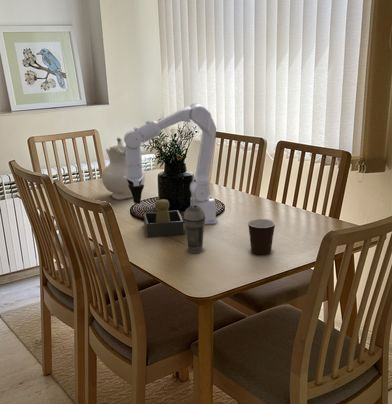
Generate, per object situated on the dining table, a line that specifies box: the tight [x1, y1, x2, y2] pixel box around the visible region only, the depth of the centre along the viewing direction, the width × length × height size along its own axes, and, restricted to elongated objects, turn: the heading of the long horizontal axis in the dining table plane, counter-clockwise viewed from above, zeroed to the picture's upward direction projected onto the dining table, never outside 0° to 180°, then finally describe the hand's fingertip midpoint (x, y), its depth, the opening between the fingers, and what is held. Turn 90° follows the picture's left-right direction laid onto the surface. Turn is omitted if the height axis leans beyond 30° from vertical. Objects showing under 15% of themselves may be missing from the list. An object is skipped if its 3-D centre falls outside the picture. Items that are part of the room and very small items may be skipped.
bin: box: [143, 209, 185, 238], centre depth 202 cm, size 13×13×5 cm
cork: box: [154, 198, 170, 223], centre depth 201 cm, size 6×6×11 cm
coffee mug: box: [248, 218, 276, 257], centre depth 180 cm, size 12×9×10 cm
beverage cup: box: [182, 191, 205, 254], centre depth 180 cm, size 7×7×20 cm
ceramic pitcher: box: [101, 136, 146, 201], centre depth 244 cm, size 22×20×25 cm
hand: (136, 200), depth 204 cm, fingers open, 7 cm apart
